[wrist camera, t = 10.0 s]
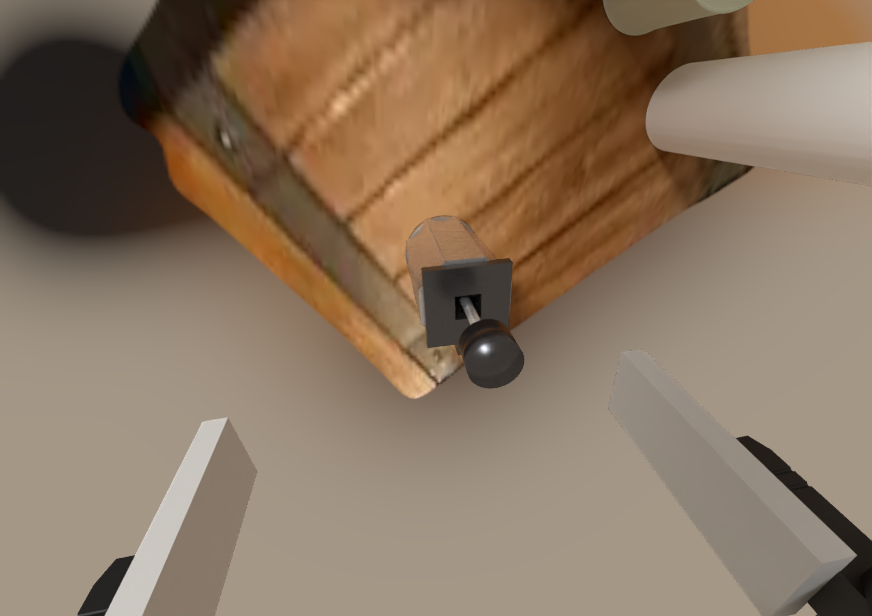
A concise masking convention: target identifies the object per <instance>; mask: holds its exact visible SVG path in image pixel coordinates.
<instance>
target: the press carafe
mask: <svg viewBox="0 0 872 616" xmlns="http://www.w3.org/2000/svg"><path fill="white" fill-rule="evenodd" d="M406 260H407V264H408V268H409V273H410V277H411V281H412V286H413V290H414V295H415V299H416V304H417V308H418V312H419V317H420V321H421V324H422V325H423V326H425V329H426V343H427V347H428V348H432V347H440V346H447V345H455V348H456V351H457V353H458V355H461V353H460V350H459V339H460V336H461V334H462V333H463V331H464V330H465V329H466V328H467V327H468V326H469V325H470V323H469V320H468V318H467V316H466V314H465V311H464V309H463V307H462V305H461V302H460V300H459V298H458V296H466V295H468V296H469V298H470V300H471V302H472V304H473V306H474V308H475V310H476V312H477V314H478V316H479V318H480V320H483V319H495V320H498V321H500V322H502V323H504V324H505V325H506V326H507V328H508V329H509V314H510V302H511V286H512V265H513V262H512V261H511V260H510V259H509V258H507V259H497V260H496V259H495V258H494V257H493V255H492V254H491V253H490V252H489V250H488V249H487V248H486V246H485V245H484V244H483V243H482V241H481V240H480V239H479V238H478V236H477V235H476V234H475V233H474V232H473V230H472V229H471V228H470V227H469V226H468V225H467V224H466V223H465V222H464V221H462V220H460V219H458V218H457V217H455V216H436V217H433V218H429V219H425V220H424V221H423V222H422V223H421V224H420V225H418V226H417V227H416V228H415V229H414V231H413V232H412V233H411V235H410V237H409V239H408V240H407V241H406Z"/></svg>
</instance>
